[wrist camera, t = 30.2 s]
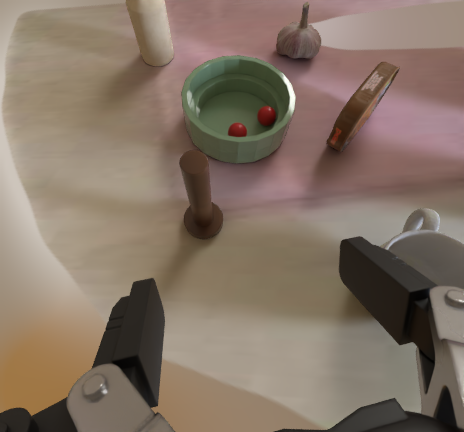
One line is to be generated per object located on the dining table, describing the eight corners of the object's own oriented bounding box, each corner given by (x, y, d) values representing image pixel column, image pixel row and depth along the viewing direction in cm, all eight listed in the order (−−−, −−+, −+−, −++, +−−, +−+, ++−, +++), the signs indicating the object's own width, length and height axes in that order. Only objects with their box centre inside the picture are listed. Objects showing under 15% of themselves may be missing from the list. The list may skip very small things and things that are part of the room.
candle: (178, 48, 47) (167, -19, 38) (167, 69, 45) (153, 4, 36) (149, 42, 47) (131, -26, 38) (137, 62, 45) (115, -4, 36)
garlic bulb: (267, 55, 47) (276, 5, 40) (288, 33, 50) (300, -17, 42) (304, 73, 46) (320, 25, 38) (323, 50, 48) (342, 1, 41)
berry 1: (246, 144, 39) (247, 126, 39) (246, 140, 37) (247, 120, 36) (228, 144, 40) (228, 125, 39) (226, 139, 37) (227, 119, 37)
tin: (333, 163, 39) (361, 123, 31) (315, 151, 40) (338, 110, 32) (378, 104, 44) (413, 57, 36) (362, 95, 44) (392, 47, 37)
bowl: (257, 75, 45) (261, 44, 40) (304, 143, 40) (316, 117, 35) (171, 103, 42) (164, 73, 37) (211, 180, 37) (210, 158, 32)
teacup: (426, 355, 30) (494, 366, 22) (335, 312, 31) (370, 308, 24) (443, 248, 35) (503, 228, 27) (364, 214, 36) (401, 187, 29)
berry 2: (275, 117, 41) (282, 110, 38) (266, 131, 41) (272, 126, 38) (260, 106, 41) (266, 98, 38) (251, 121, 40) (256, 114, 38)
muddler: (211, 198, 36) (206, 129, 23) (229, 227, 35) (234, 171, 22) (178, 214, 35) (153, 151, 22) (195, 245, 34) (180, 198, 21)
